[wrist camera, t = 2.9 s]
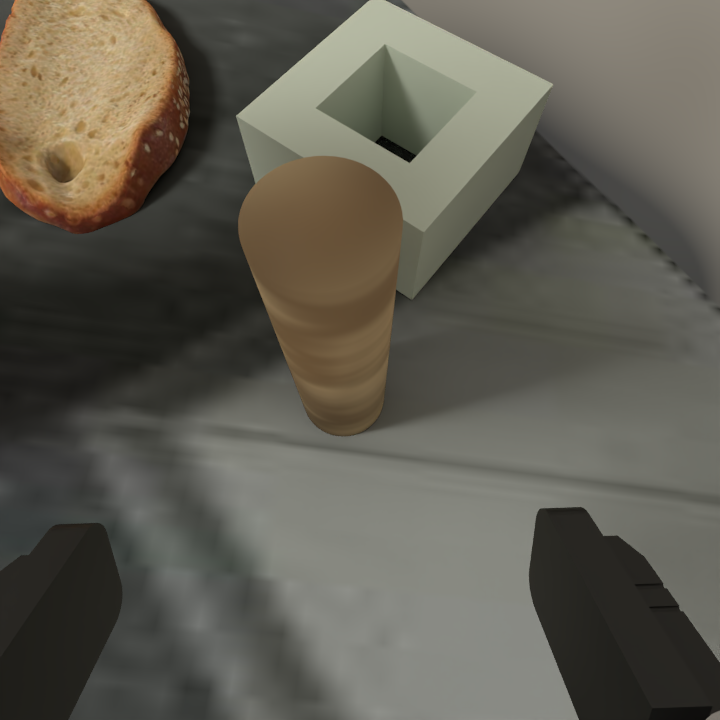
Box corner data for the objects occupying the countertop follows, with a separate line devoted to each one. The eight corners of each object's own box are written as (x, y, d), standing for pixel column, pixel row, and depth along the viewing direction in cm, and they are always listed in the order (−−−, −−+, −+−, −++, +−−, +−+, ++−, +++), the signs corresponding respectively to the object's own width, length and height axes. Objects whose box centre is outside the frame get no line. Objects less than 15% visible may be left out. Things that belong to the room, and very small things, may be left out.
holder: (260, 199, 30) (236, 116, 24) (373, 91, 33) (375, -5, 28) (412, 299, 27) (423, 232, 22) (519, 172, 30) (553, 84, 25)
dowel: (287, 403, 25) (203, 232, 12) (337, 345, 26) (310, 131, 13) (350, 452, 24) (332, 323, 11) (399, 389, 25) (435, 207, 12)
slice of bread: (78, -19, 38) (49, -77, 35) (276, 66, 35) (266, 11, 31) (-114, 139, 32) (-171, 88, 29) (99, 260, 29) (63, 219, 25)
